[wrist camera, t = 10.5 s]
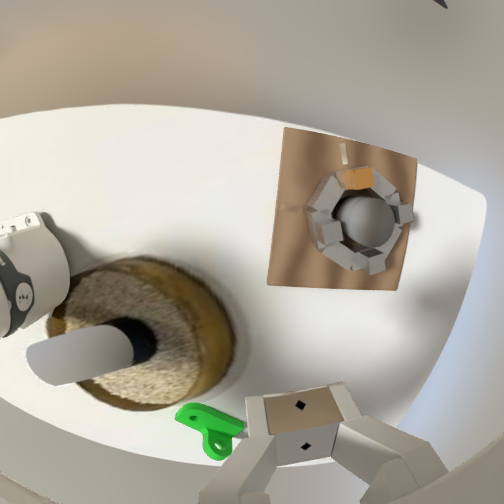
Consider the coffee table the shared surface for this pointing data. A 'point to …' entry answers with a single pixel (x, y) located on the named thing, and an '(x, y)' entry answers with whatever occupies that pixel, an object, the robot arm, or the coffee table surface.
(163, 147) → the coffee table surface
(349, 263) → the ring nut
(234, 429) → the mechanical part
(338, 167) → the base plate
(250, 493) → the robot arm
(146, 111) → the coffee table surface
